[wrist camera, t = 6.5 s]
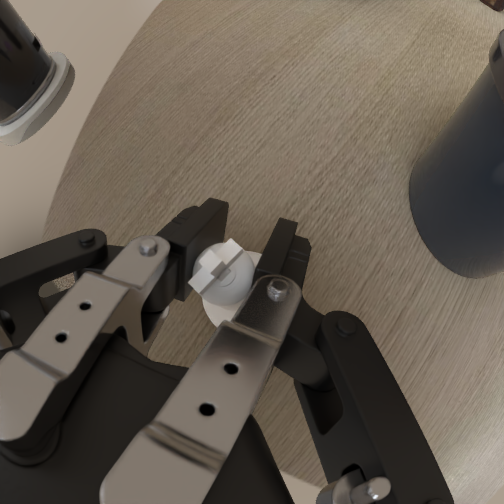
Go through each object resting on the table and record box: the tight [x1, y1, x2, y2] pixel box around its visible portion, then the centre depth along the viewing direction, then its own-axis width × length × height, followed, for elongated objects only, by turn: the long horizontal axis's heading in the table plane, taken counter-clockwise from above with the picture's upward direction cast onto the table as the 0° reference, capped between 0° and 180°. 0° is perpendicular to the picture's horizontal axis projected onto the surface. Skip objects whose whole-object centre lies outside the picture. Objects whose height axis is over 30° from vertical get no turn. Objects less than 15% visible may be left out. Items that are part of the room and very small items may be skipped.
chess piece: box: [188, 238, 262, 328], centre depth 13 cm, size 5×5×10 cm
